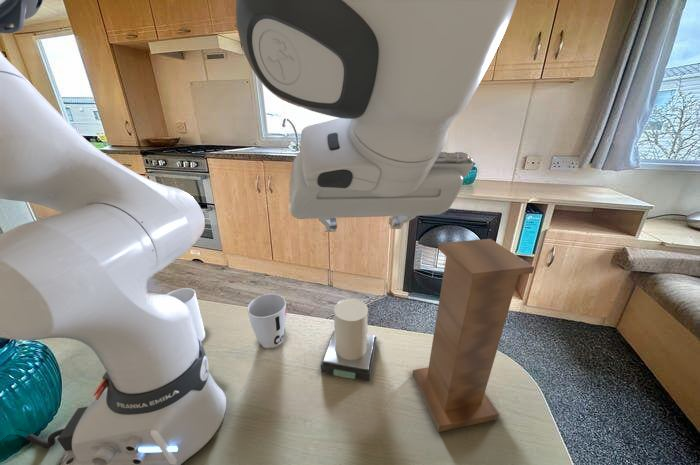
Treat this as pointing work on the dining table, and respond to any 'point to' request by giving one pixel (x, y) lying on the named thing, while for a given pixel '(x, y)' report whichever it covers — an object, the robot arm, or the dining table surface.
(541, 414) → the dining table surface
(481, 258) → the stand
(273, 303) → the cup
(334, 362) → the scale
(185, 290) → the mug
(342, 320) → the cream mug
